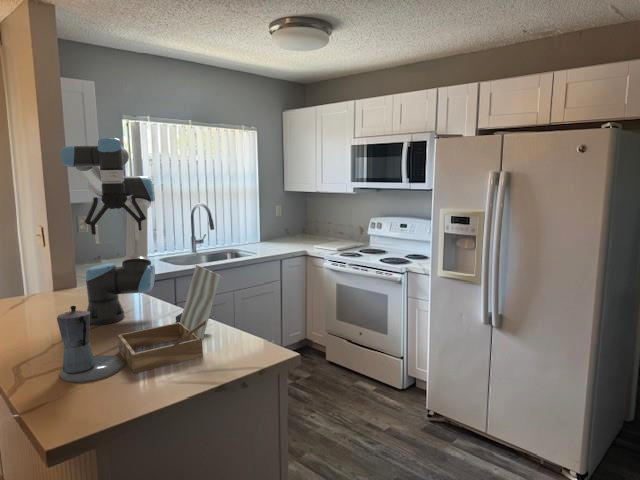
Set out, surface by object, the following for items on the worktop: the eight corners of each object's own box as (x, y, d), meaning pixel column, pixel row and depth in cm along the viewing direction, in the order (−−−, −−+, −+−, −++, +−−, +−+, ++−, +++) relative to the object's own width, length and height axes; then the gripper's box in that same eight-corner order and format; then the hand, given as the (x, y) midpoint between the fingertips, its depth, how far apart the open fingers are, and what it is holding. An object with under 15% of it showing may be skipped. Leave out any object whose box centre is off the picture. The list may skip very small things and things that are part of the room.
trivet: (57, 367, 149) (57, 364, 149) (117, 353, 159) (117, 351, 159) (64, 388, 134) (63, 384, 134) (129, 371, 144) (129, 368, 144)
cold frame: (119, 351, 161) (112, 276, 157) (201, 332, 178) (197, 264, 174) (134, 373, 143) (127, 289, 139) (224, 350, 160) (220, 274, 156)
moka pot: (84, 357, 153) (79, 299, 150) (107, 369, 144) (102, 307, 141) (53, 367, 146) (47, 305, 143) (75, 380, 136) (69, 315, 133)
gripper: (75, 184, 155) (81, 246, 158) (151, 181, 169) (155, 239, 172) (72, 183, 161) (78, 243, 164) (146, 181, 175) (150, 237, 178)
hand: (118, 241), depth 168 cm, fingers open, 13 cm apart
